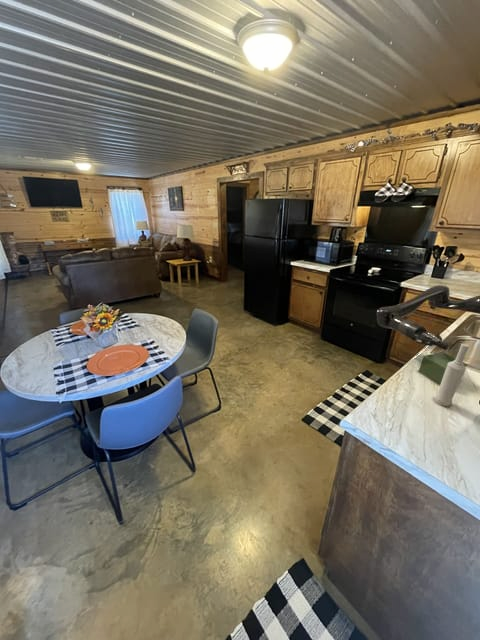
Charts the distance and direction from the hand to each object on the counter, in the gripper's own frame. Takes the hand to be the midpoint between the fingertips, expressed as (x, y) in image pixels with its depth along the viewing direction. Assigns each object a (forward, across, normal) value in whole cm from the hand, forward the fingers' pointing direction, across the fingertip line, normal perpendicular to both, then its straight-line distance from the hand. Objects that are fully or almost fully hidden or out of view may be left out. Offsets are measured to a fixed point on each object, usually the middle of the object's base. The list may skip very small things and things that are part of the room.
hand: (446, 347), depth 110 cm
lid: (+1, 0, -6) cm, 6 cm away
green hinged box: (+1, 0, -14) cm, 14 cm away
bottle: (+13, +14, -14) cm, 24 cm away
